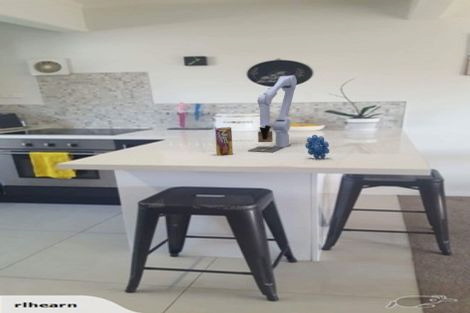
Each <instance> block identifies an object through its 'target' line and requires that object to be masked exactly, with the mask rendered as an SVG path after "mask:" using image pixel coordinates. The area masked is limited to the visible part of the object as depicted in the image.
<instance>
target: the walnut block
mask: <svg viewBox="0 0 470 313" xmlns="http://www.w3.org/2000/svg"><path fill="white" fill-rule="evenodd" d="M257 139H258V140H257V142H258V143H272V142H273V141H274V140H273V130H269V131H268V134H267V139H263V137H262V133H261V130H259V131H257Z"/></svg>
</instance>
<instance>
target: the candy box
mask: <svg viewBox="0 0 470 313" xmlns="http://www.w3.org/2000/svg"><path fill="white" fill-rule="evenodd" d="M232 132H233V131H232V127H231V126H227V127H226V126H225V127H215V128H214V134H215V148H216V149H215V150H216V156H218V155H219V156H230V155H233V154H234V153H233V152H234V150H233V134H232Z"/></svg>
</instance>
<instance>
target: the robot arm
mask: <svg viewBox="0 0 470 313" xmlns="http://www.w3.org/2000/svg"><path fill="white" fill-rule="evenodd" d="M297 82H298V81H297V77H296V76H295V75H294V74H292V75H282V76H279V78H277V81H276V83H275V84H274V85H273V86H272V87H271V86H270V87H268V88H267V90H266V91H264V92H263V94H261V95H259V96H258V98H257V105H258V107H259V121H260V122H259V126H260V127H259V131H261V133H262V137H263V139H267V134H268V131H271V128H272V131H274V132H275V134H274V136H275V144H274V145H273V147H283V148H286V147H289V146H290V145H291V144H290V135H289V133H288V132H289V131H290V128H291V119H290V118H289V113H290V110H291V106H292V102H293V97H294V94H295V90H296V86H297V84H298V83H297ZM281 89H282V91H283V92H284V95H283V99H282V103H281V107H280V111H279V115H278V116H277V117H274V118H275V119H274V121H273V122H271V114H270V113H271V110H270V109H271V107H270V105H271V104H272V103H273V102H272V101H273V99H274V98H275V97H276V96H277V94H278V91H279V90H281ZM271 125H272V126H271Z"/></svg>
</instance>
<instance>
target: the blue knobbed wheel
mask: <svg viewBox="0 0 470 313" xmlns="http://www.w3.org/2000/svg"><path fill="white" fill-rule="evenodd" d="M329 146H330V145H329V142H328V141H325V137H323V136H321V135H320V136H318V135H316V134H312V135H311V136H310V137H307V138H306V143H305V145H304V147H305V148H306V149H307V154H308V155H311V156H313V157H314V158H315V159H317V160H318V159H319V158H321V159H325V158H326V157H327V156H326V155H327V154H329V153H330V149H329Z"/></svg>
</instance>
